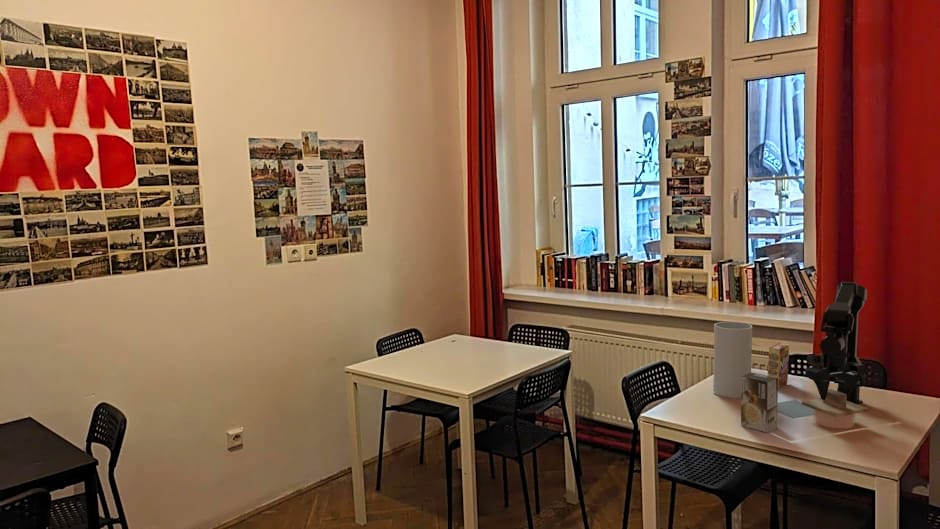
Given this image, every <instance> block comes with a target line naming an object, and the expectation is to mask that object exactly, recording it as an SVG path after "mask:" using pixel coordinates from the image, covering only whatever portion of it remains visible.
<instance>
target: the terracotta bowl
mask: <svg viewBox="0 0 940 529" xmlns="http://www.w3.org/2000/svg"><path fill="white" fill-rule="evenodd" d="M813 421H814V422H815V423H816V424H818V425H821V426H823V427H827V428H831V429H832V428H833V429H844V430H845V429H848V428H849V429H850V428H853V427H854V426H855V424H856V423H855V422H856V414H851V415H845V416H839V417H833V416H830V415H828V414H825V413H823V412H820V411H817V410H815V409H814V415H813Z"/></svg>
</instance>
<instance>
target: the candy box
mask: <svg viewBox="0 0 940 529" xmlns="http://www.w3.org/2000/svg"><path fill="white" fill-rule="evenodd" d="M789 354H790V344H789V343H780V342H779V343H775V344H774V345H772V346H769V347H768V363H767V376H771V377H775V378H778V389H779V388H781V387H784V386H787V385H788V379H789V378H788V376H789V374H788V373H789V362H790V360H789V358H790V357H789V356H790V355H789Z"/></svg>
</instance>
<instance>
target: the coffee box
mask: <svg viewBox="0 0 940 529" xmlns="http://www.w3.org/2000/svg"><path fill="white" fill-rule="evenodd" d="M778 389H779V388H778V378H775V377H771V376H768V375H765V374H762V373H757V372H751V373H748V374H745V375H744V376H741V398H740V403H741V404H740V405H741V406H740V419H741V420H740V426H741V425H742V426H741V427H745V428H749V429H752V430H755V431H760V432H762V431H763V433H770V432H771V431H772V430H775V429H777V428H778V412H777V403H779V401H778V399H779V398H778V395H779V394H778V393H779V392H778V391H779V390H778Z"/></svg>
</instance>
